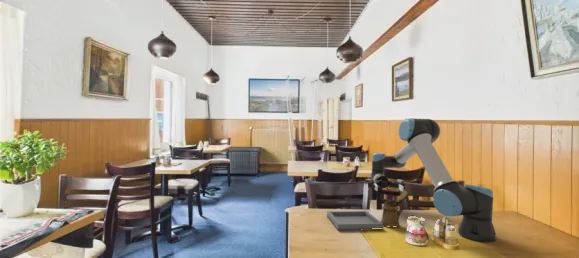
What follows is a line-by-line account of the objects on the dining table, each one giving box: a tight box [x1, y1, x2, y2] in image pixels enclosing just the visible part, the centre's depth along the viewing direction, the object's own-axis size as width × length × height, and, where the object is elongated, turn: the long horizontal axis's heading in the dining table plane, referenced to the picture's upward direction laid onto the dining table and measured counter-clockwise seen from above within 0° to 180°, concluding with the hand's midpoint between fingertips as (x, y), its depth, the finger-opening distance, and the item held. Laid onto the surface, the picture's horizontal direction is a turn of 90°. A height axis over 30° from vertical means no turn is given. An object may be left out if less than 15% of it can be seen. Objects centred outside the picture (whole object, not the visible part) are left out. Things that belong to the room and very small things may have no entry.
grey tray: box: [326, 210, 384, 232], centre depth 165 cm, size 22×22×3 cm
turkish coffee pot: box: [380, 189, 410, 227], centre depth 163 cm, size 9×14×18 cm, turn 92°
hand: (390, 188), depth 173 cm, fingers open, 13 cm apart
